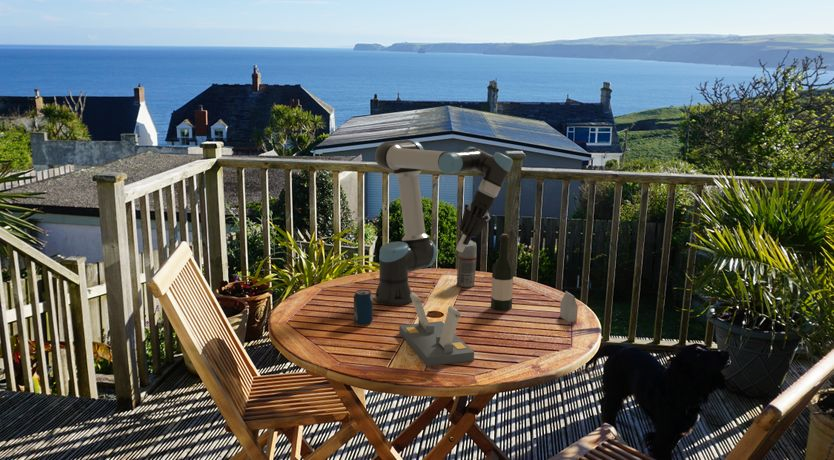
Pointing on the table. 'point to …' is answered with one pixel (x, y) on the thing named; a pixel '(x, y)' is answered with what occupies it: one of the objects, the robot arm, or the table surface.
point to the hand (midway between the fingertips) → (459, 250)
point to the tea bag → (568, 308)
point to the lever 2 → (449, 326)
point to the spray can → (467, 266)
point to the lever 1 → (419, 310)
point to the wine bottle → (502, 278)
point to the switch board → (435, 344)
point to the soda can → (363, 307)
